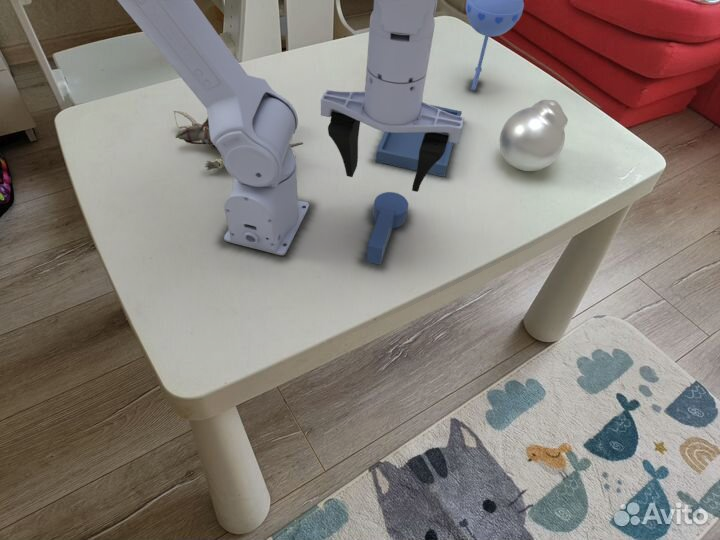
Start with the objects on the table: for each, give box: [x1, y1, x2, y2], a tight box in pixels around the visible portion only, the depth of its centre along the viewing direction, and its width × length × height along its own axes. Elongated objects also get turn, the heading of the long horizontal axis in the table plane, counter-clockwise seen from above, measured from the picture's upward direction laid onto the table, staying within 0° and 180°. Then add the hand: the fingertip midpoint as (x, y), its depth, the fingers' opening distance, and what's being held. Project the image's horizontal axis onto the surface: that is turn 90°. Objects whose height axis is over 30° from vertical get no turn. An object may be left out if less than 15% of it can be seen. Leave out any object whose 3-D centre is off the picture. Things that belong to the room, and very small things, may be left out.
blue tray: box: [375, 104, 462, 178], centre depth 78 cm, size 14×10×2 cm
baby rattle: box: [464, 0, 525, 91], centre depth 83 cm, size 9×9×18 cm
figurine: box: [172, 110, 304, 171], centre depth 75 cm, size 20×6×17 cm
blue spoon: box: [365, 191, 409, 266], centre depth 65 cm, size 11×4×3 cm, turn 164°
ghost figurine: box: [499, 99, 569, 172], centre depth 73 cm, size 9×10×10 cm
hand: (383, 178), depth 59 cm, fingers open, 7 cm apart
